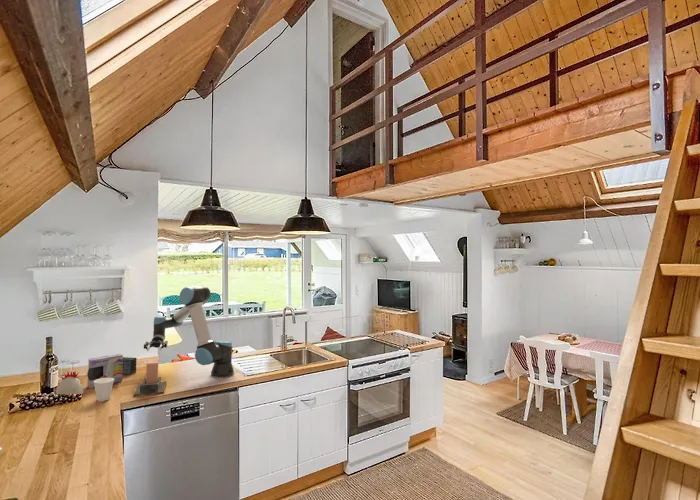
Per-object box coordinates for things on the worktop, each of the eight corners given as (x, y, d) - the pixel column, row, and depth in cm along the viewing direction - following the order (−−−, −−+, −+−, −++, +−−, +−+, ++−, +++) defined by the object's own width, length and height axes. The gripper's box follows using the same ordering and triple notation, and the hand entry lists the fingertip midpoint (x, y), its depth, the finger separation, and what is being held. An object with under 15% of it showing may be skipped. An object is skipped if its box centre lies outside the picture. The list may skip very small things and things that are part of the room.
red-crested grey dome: (83, 399, 221) (84, 372, 221) (52, 403, 213) (53, 376, 213) (83, 391, 232) (84, 366, 232) (54, 395, 224) (55, 369, 225)
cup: (117, 398, 223) (118, 378, 223) (101, 404, 214) (102, 384, 214) (104, 395, 226) (105, 376, 227) (88, 401, 217) (89, 381, 217)
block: (157, 382, 247) (158, 360, 248) (156, 385, 242) (157, 362, 242) (147, 383, 245) (147, 361, 245) (145, 386, 240) (146, 363, 240)
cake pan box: (87, 388, 237) (88, 359, 237) (85, 386, 240) (86, 358, 240) (122, 381, 251) (123, 354, 251) (120, 380, 254) (121, 353, 254)
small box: (136, 372, 271) (137, 357, 271) (130, 375, 264) (131, 359, 265) (122, 371, 272) (123, 356, 272) (116, 374, 265) (116, 359, 266)
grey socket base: (166, 383, 251) (166, 373, 251) (163, 393, 232) (164, 383, 232) (138, 385, 245) (138, 375, 245) (133, 396, 226) (133, 386, 226)
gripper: (172, 345, 275) (170, 353, 254) (141, 347, 268) (136, 355, 247) (173, 335, 275) (170, 342, 254) (142, 336, 268) (137, 343, 247)
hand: (154, 348), depth 250 cm, fingers open, 6 cm apart
